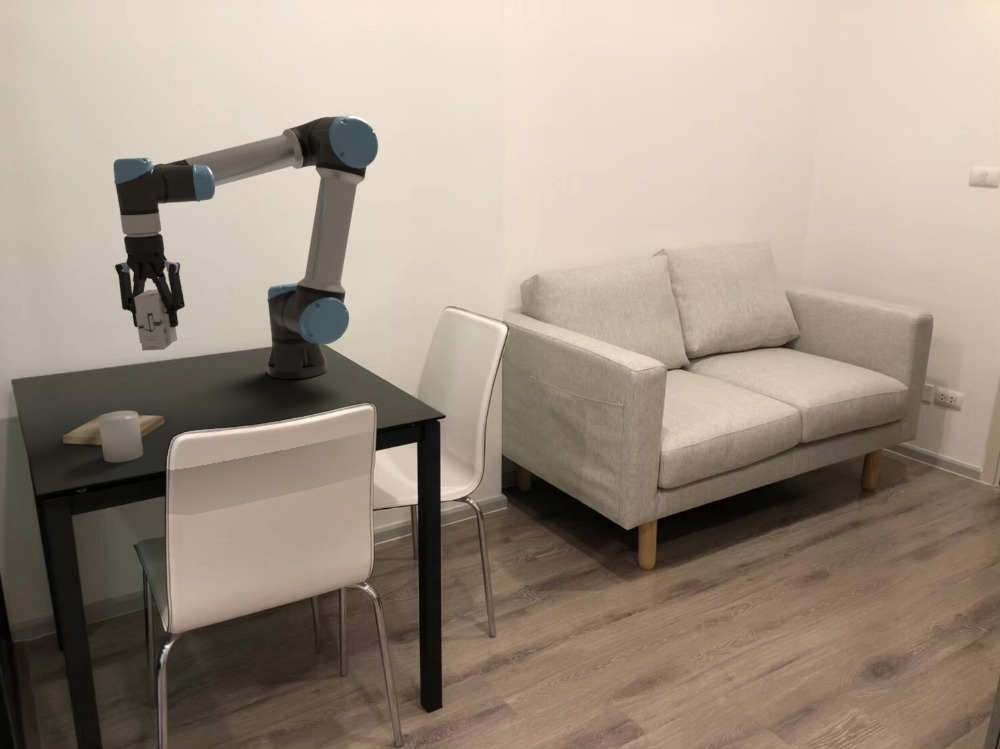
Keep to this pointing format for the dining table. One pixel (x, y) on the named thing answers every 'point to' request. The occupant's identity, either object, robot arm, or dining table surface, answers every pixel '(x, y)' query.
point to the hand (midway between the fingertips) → (158, 341)
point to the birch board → (91, 430)
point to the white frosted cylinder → (120, 436)
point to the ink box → (151, 320)
